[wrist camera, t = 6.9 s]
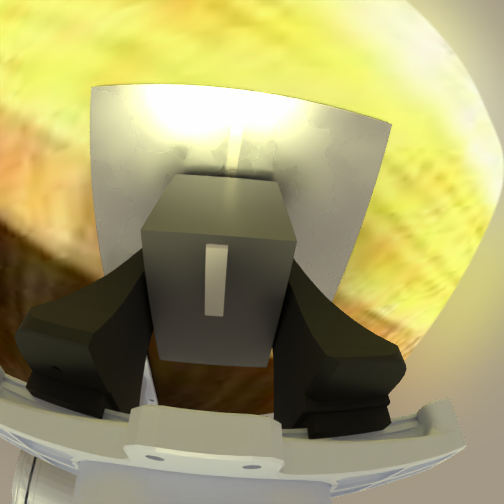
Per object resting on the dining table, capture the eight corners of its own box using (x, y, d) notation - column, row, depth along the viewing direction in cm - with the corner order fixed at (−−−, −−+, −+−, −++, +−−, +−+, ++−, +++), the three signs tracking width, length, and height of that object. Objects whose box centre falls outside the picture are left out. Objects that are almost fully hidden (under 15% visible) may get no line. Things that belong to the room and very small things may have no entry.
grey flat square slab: (316, 329, 19) (325, 369, 17) (114, 308, 18) (98, 346, 15) (388, 122, 12) (425, 138, 9) (95, 86, 10) (55, 93, 8)
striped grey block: (260, 289, 16) (267, 371, 11) (177, 283, 15) (159, 363, 11) (277, 181, 12) (298, 245, 8) (175, 174, 12) (138, 233, 8)
